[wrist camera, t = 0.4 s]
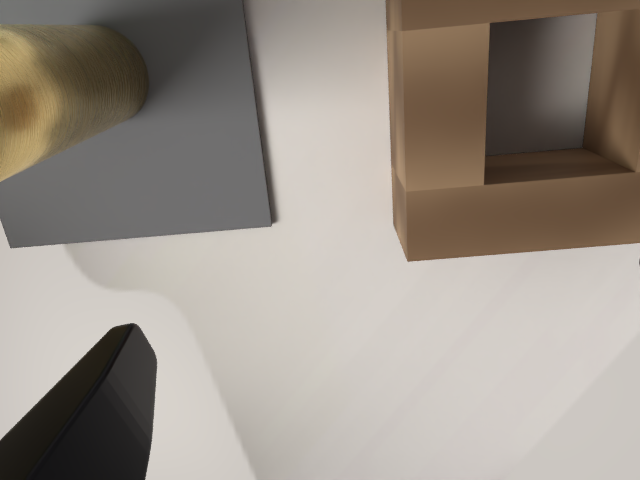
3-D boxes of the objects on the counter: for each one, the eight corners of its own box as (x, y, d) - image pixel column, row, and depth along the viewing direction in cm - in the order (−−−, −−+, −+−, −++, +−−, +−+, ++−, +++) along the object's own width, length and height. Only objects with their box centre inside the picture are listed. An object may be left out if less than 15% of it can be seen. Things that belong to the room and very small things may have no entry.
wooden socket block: (638, 203, 23) (700, 238, 19) (393, 224, 23) (407, 261, 20) (684, -81, 19) (774, -107, 15) (383, -51, 19) (399, -70, 15)
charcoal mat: (272, 224, 23) (271, 226, 23) (14, 245, 24) (10, 248, 23) (231, -83, 19) (230, -85, 18) (-89, -50, 19) (-95, -51, 19)
